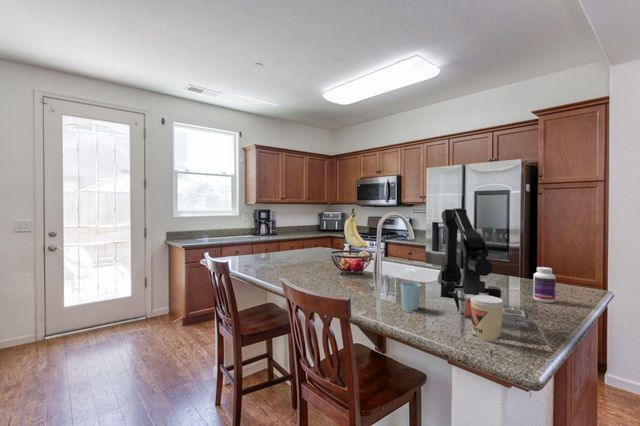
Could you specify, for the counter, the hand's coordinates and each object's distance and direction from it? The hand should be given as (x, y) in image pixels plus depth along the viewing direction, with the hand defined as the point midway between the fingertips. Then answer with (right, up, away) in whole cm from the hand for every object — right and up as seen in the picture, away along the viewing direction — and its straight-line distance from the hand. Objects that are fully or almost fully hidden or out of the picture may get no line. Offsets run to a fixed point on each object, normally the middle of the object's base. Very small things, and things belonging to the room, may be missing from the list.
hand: (471, 312), depth 120 cm
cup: (-20, -2, +7) cm, 22 cm away
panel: (+9, -2, +1) cm, 9 cm away
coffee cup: (-3, -3, -17) cm, 18 cm away
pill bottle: (+43, -2, +23) cm, 48 cm away
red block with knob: (0, -1, 0) cm, 1 cm away
